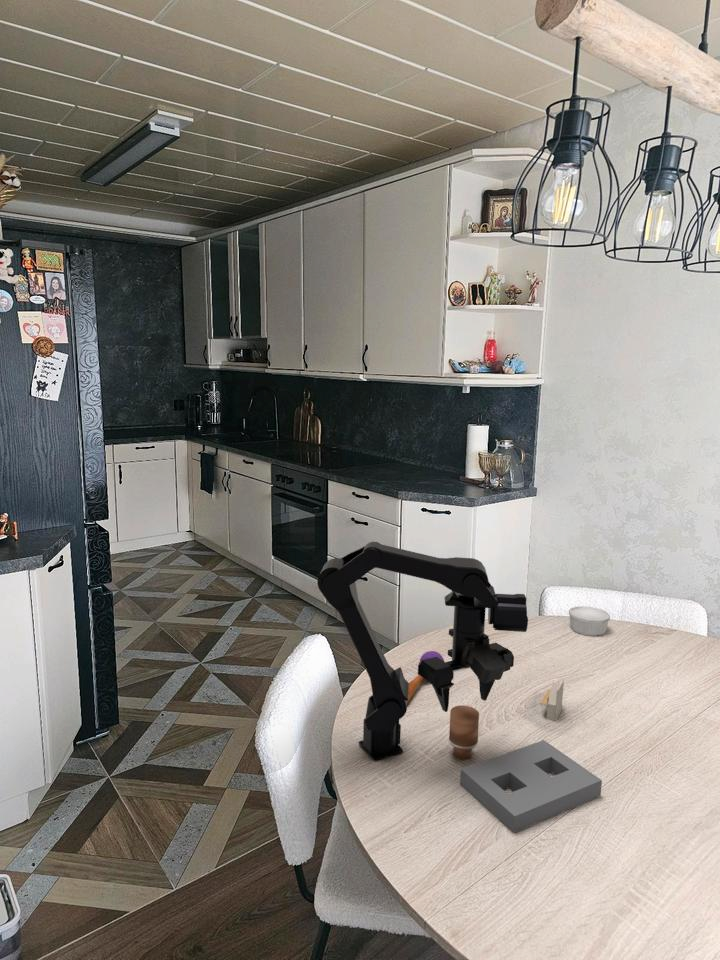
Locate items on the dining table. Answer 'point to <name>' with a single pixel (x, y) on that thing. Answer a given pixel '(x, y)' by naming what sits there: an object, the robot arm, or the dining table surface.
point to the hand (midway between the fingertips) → (464, 705)
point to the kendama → (417, 680)
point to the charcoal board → (529, 784)
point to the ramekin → (588, 620)
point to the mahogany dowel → (463, 731)
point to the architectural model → (553, 700)
